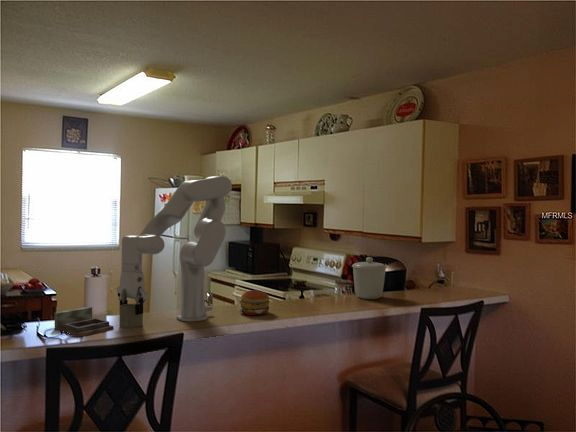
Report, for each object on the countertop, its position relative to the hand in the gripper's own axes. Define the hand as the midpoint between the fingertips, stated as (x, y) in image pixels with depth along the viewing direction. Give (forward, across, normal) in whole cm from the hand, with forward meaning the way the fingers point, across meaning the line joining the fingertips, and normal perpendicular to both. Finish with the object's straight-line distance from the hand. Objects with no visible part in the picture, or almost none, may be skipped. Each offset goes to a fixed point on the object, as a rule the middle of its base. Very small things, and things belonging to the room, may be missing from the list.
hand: (131, 312), depth 190 cm
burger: (+6, -21, -48) cm, 53 cm away
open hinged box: (+5, +9, +14) cm, 17 cm away
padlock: (+6, 0, 0) cm, 6 cm away
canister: (+6, -42, -115) cm, 122 cm away
